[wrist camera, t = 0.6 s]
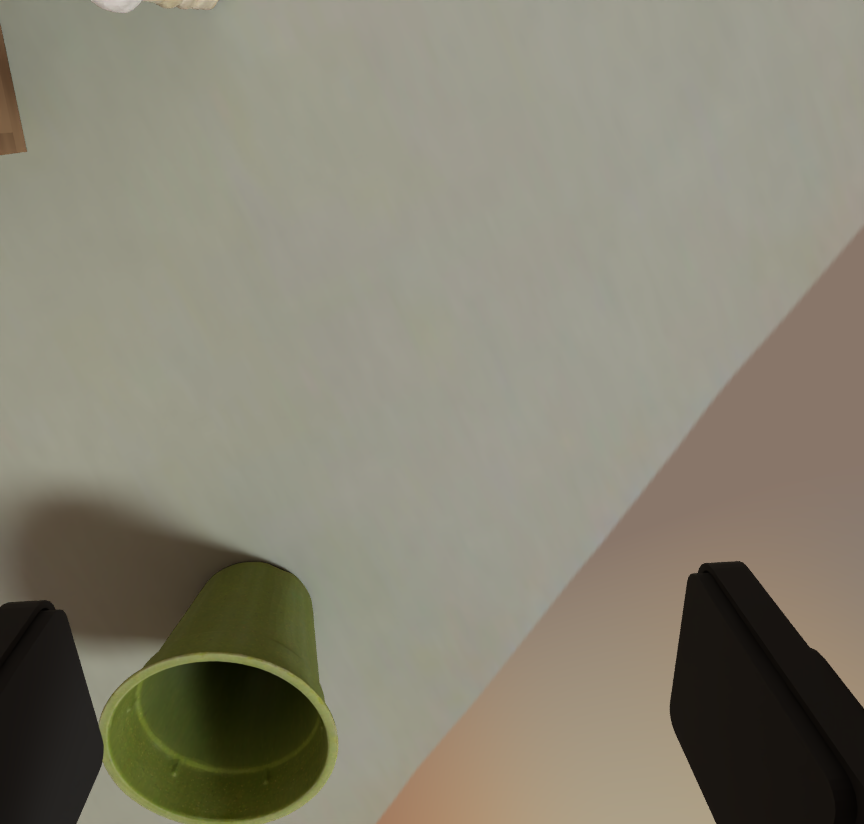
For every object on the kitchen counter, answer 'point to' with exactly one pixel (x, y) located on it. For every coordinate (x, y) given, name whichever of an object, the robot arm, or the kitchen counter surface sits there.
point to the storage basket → (123, 3)
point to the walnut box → (9, 109)
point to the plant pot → (227, 707)
